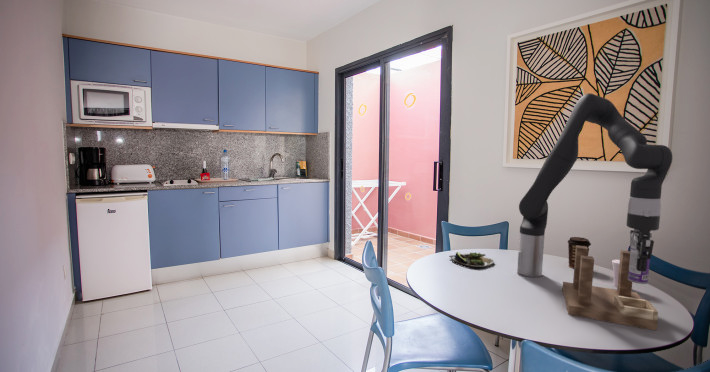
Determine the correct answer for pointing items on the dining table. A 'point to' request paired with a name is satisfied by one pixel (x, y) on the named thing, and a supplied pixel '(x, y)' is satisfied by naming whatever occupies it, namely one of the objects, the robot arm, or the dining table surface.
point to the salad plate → (472, 260)
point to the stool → (607, 295)
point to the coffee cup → (572, 248)
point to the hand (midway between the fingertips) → (638, 267)
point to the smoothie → (616, 271)
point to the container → (633, 273)
